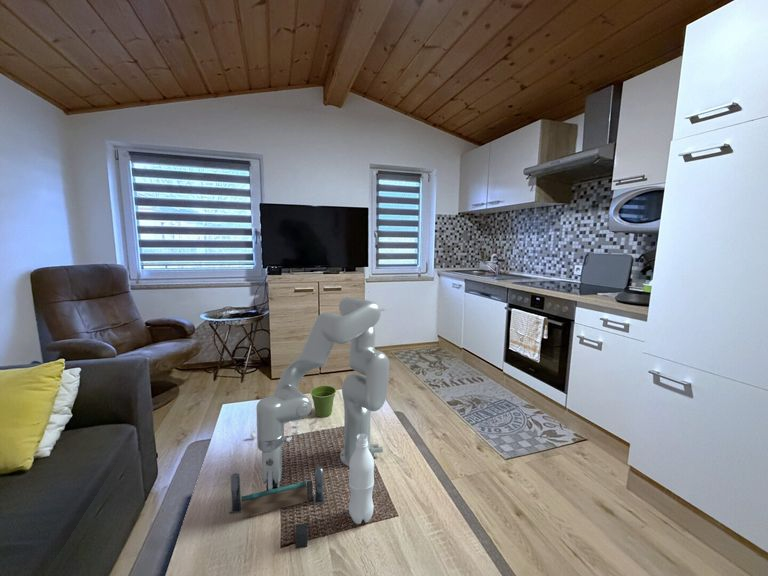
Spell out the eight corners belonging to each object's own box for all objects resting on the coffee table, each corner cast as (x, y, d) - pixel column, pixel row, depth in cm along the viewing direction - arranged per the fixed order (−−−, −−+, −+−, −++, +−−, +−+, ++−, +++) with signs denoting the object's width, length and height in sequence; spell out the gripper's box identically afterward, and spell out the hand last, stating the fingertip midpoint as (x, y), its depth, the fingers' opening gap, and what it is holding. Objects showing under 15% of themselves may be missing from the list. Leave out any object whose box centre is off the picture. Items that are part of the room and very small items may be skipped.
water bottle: (360, 503, 99) (361, 426, 96) (378, 515, 95) (380, 435, 91) (343, 517, 94) (343, 437, 90) (361, 532, 89) (362, 447, 86)
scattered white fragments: (248, 452, 123) (248, 442, 122) (253, 424, 142) (253, 415, 141) (301, 444, 128) (301, 435, 128) (299, 418, 147) (299, 410, 147)
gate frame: (324, 495, 102) (324, 464, 100) (323, 544, 85) (323, 508, 84) (232, 505, 97) (231, 472, 96) (212, 559, 81) (210, 520, 79)
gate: (312, 496, 100) (311, 478, 100) (312, 499, 99) (312, 481, 98) (242, 513, 93) (241, 494, 93) (242, 518, 92) (241, 498, 91)
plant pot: (309, 409, 155) (309, 386, 153) (334, 406, 158) (334, 384, 157) (311, 422, 144) (311, 398, 142) (338, 418, 147) (338, 395, 146)
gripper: (282, 453, 90) (283, 513, 92) (285, 424, 104) (286, 477, 107) (253, 457, 88) (255, 518, 90) (260, 427, 102) (262, 480, 105)
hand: (272, 495), depth 98 cm, fingers closed
